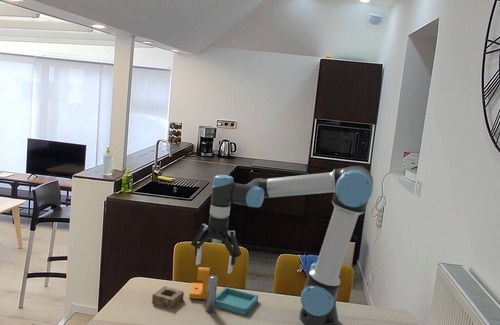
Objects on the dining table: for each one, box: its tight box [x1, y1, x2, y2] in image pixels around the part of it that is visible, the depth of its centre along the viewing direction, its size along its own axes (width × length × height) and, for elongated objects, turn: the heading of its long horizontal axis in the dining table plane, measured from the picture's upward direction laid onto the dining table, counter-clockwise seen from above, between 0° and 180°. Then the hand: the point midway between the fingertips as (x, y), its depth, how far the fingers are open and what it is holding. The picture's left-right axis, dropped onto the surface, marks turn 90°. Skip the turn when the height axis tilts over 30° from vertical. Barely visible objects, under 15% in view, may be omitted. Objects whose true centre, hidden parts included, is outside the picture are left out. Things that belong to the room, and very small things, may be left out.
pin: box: [205, 274, 219, 314], centre depth 178 cm, size 3×3×14 cm
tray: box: [215, 286, 259, 316], centre depth 187 cm, size 15×14×2 cm
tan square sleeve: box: [151, 285, 185, 309], centre depth 183 cm, size 9×9×4 cm
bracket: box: [188, 266, 211, 300], centre depth 191 cm, size 11×7×12 cm, turn 4°
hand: (213, 268), depth 177 cm, fingers open, 13 cm apart
